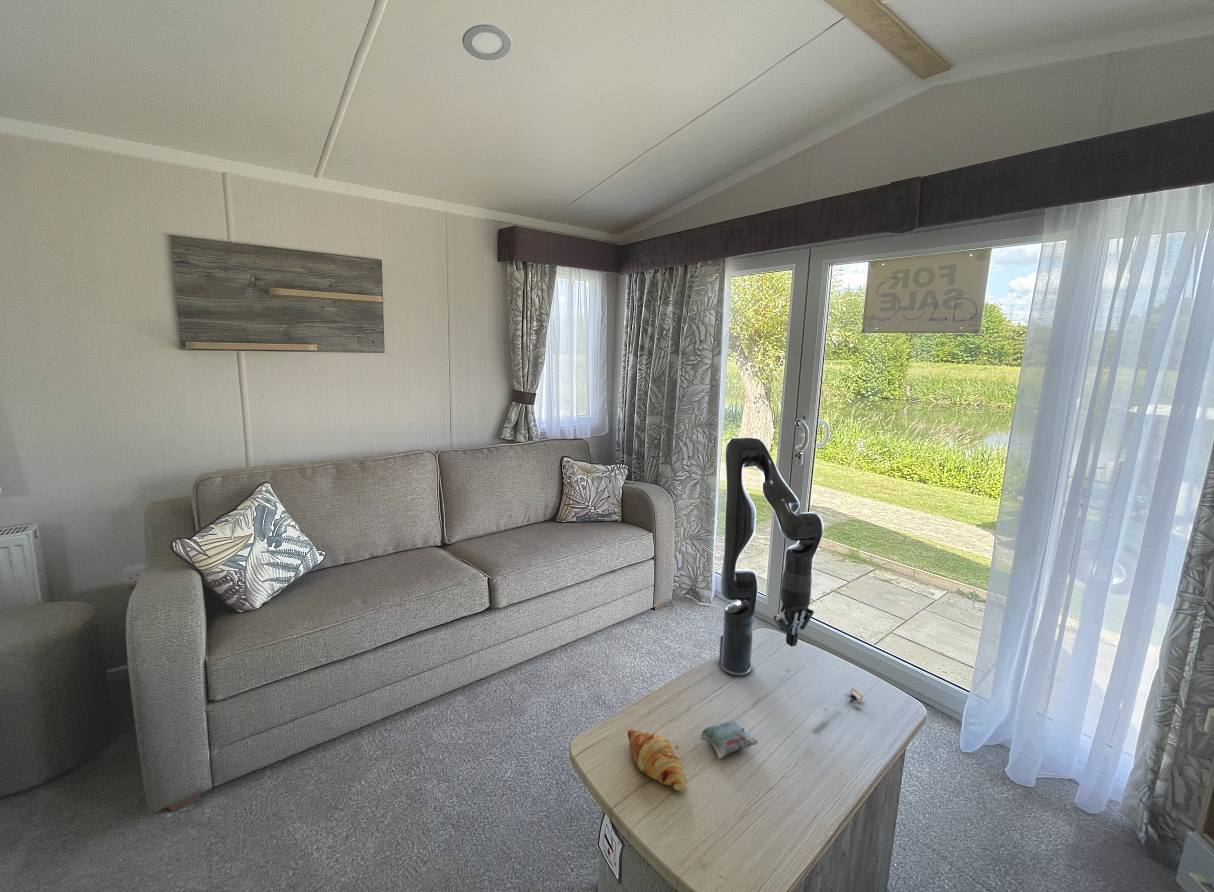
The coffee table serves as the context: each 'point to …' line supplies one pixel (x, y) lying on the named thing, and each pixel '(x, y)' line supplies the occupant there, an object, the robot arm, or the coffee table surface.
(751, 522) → the robot arm
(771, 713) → the coffee table surface
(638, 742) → the croissant
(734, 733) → the packaged food
